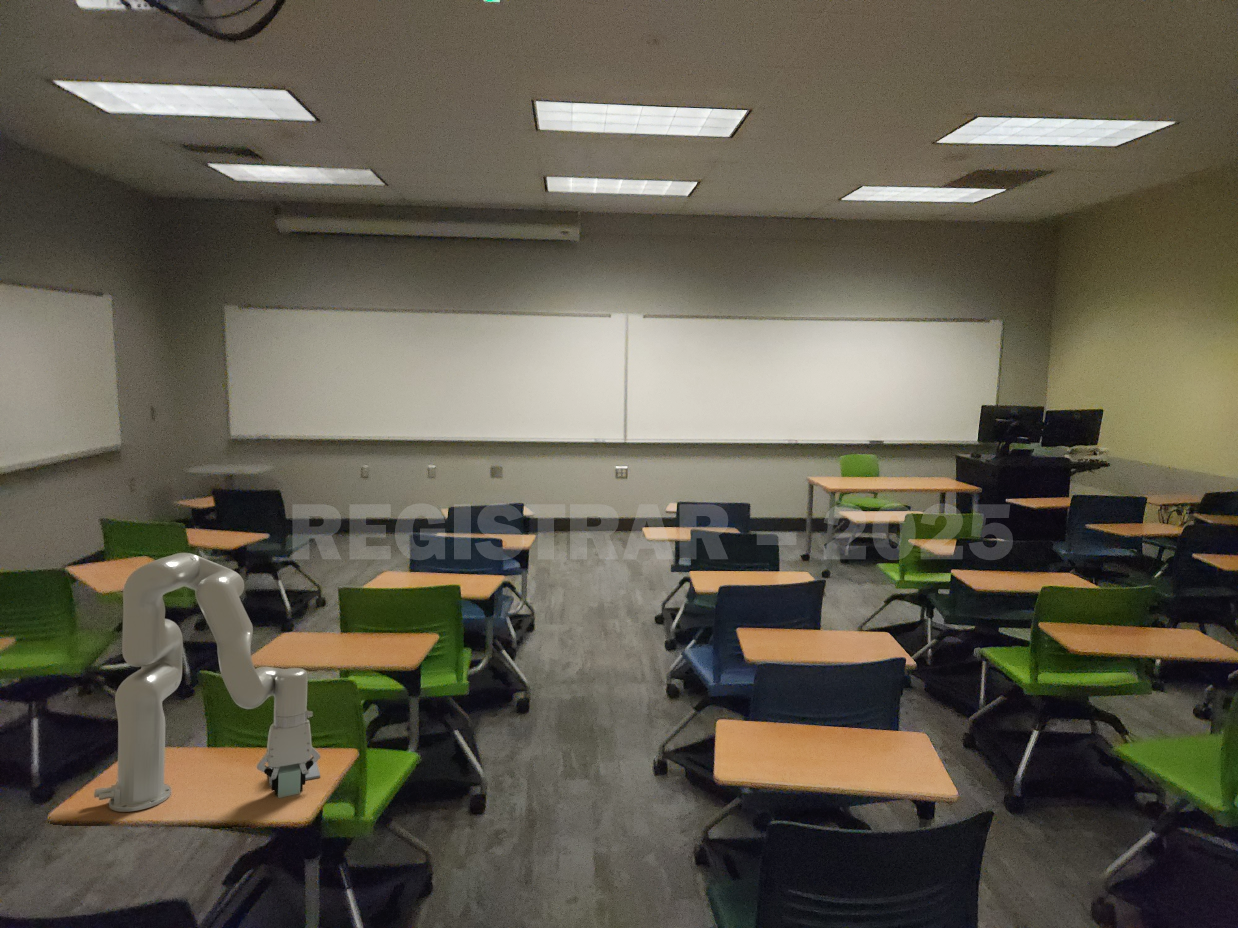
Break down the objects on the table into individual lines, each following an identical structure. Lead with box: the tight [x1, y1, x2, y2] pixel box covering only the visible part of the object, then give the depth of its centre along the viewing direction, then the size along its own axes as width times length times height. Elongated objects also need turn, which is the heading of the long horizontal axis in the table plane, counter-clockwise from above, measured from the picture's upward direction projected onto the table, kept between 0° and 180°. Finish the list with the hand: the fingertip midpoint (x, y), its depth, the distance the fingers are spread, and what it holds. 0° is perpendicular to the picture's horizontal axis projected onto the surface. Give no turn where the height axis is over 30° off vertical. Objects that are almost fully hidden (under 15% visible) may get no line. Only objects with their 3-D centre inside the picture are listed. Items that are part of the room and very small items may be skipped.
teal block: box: [277, 764, 301, 798], centre depth 176 cm, size 5×5×6 cm
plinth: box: [267, 761, 321, 788], centre depth 186 cm, size 12×12×4 cm
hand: (288, 789), depth 176 cm, fingers closed on teal block, 4 cm apart
